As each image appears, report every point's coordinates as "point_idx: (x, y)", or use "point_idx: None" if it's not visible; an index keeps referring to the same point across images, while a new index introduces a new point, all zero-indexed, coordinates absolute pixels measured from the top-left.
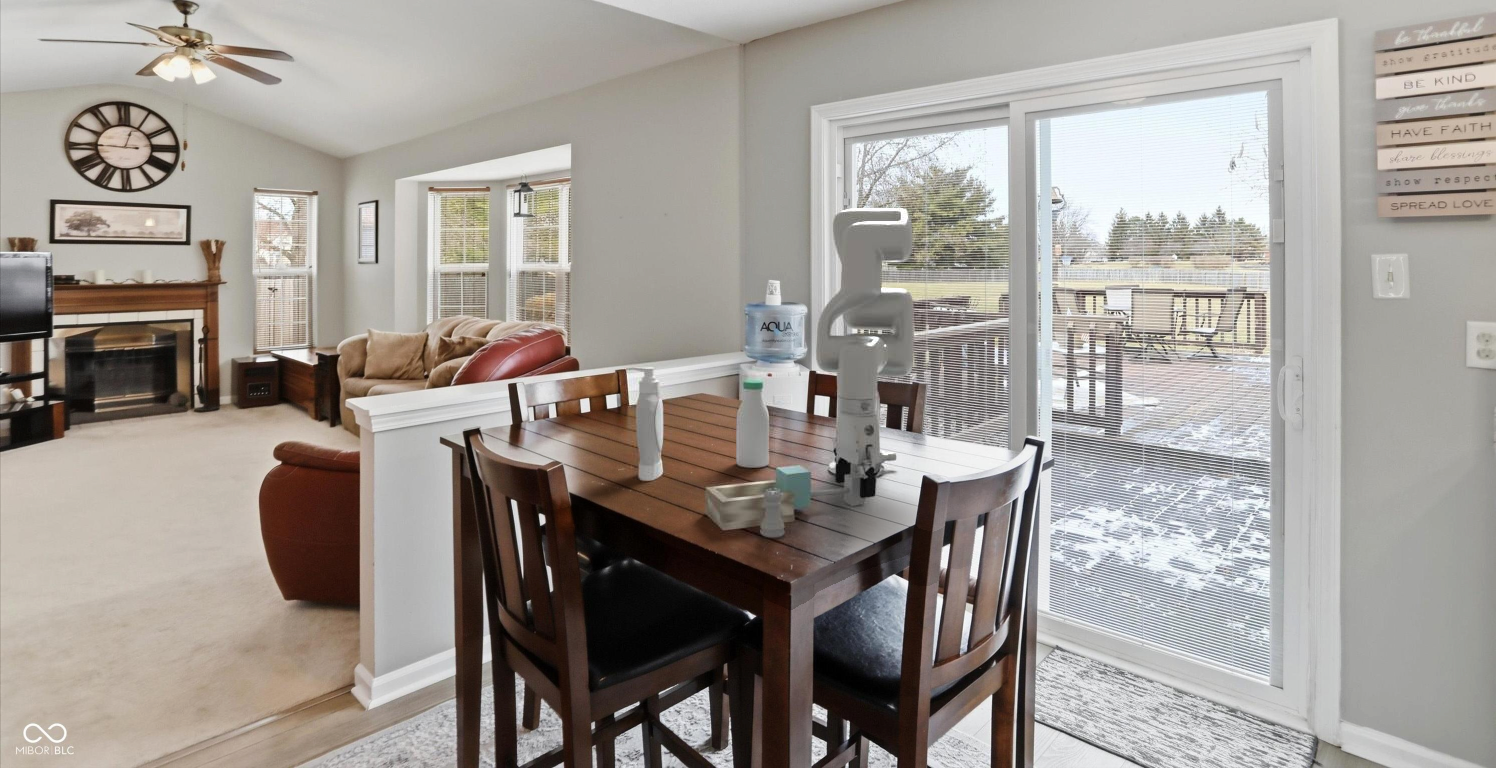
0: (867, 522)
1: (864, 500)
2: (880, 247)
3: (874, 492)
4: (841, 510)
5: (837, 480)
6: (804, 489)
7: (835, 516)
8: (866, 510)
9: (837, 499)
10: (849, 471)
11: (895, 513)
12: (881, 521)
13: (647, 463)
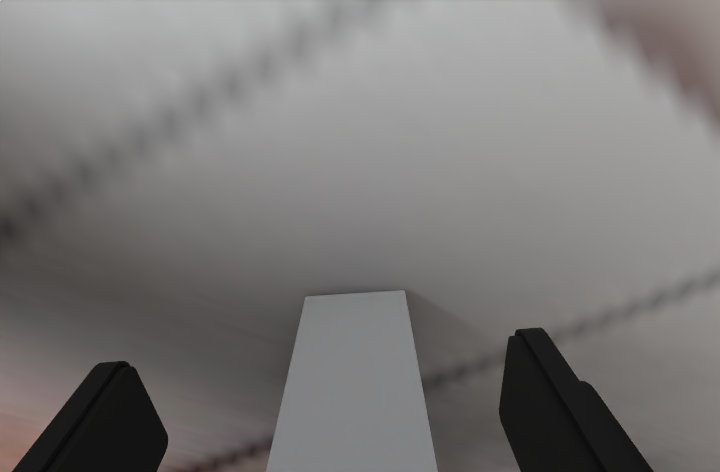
0: (663, 381)
1: (406, 307)
2: None
3: (552, 351)
4: (439, 414)
5: (158, 458)
6: None
7: (506, 458)
8: (496, 314)
9: (256, 373)
10: (78, 454)
11: (644, 178)
12: (700, 319)
13: None
